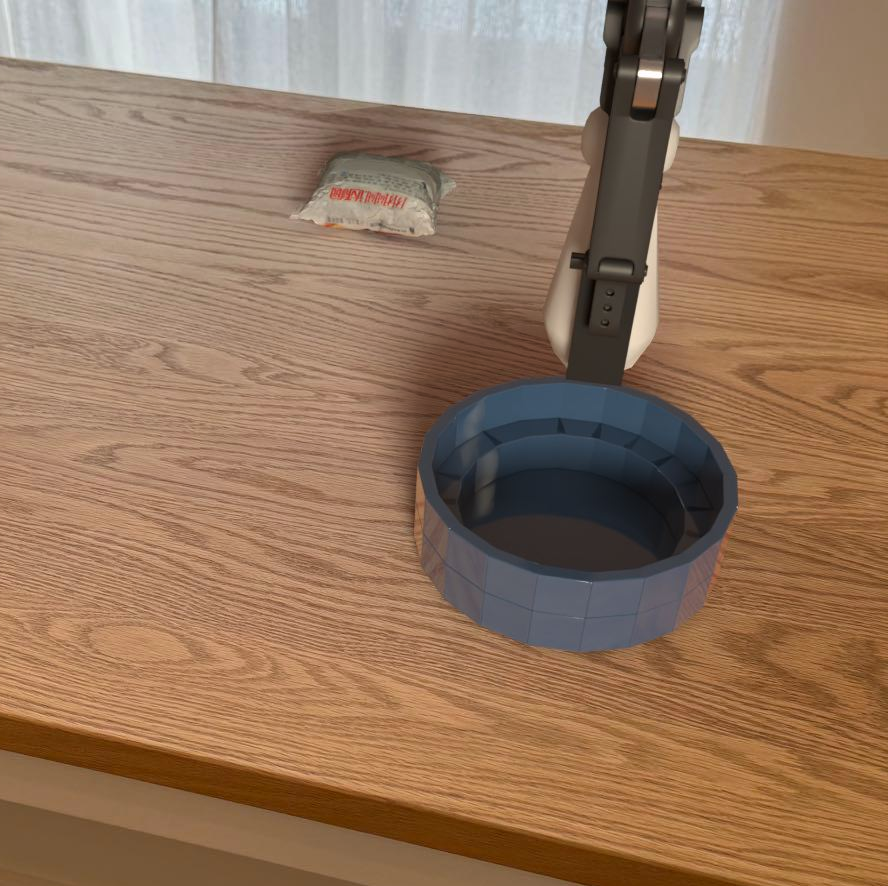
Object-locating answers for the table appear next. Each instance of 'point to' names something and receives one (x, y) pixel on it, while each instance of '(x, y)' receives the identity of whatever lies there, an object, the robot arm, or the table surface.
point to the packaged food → (377, 194)
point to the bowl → (573, 512)
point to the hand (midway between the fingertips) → (597, 340)
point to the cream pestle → (567, 281)
